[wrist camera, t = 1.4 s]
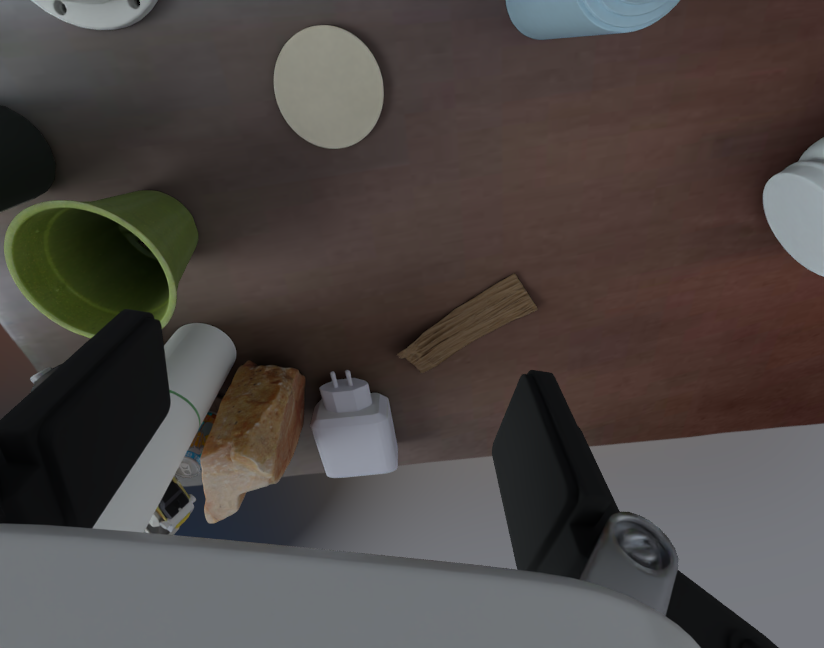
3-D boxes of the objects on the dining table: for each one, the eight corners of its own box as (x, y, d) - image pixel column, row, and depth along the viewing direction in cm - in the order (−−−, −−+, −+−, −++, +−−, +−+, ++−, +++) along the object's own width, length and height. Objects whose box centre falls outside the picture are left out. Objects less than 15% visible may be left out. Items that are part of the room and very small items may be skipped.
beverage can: (251, 391, 53) (229, 441, 46) (272, 459, 60) (256, 511, 53) (153, 396, 53) (117, 446, 46) (184, 463, 60) (157, 515, 53)
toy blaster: (147, 556, 55) (196, 563, 45) (-1, 402, 49) (20, 374, 39) (184, 518, 59) (237, 518, 49) (52, 373, 53) (83, 341, 44)
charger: (381, 354, 51) (397, 443, 59) (303, 362, 51) (330, 450, 59) (379, 380, 47) (397, 472, 55) (295, 388, 47) (325, 479, 55)
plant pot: (99, 265, 44) (16, 324, 35) (91, 146, 38) (-11, 178, 29) (220, 295, 46) (173, 358, 37) (230, 186, 40) (177, 228, 31)
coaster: (251, 73, 36) (249, 74, 35) (337, -3, 33) (336, -4, 33) (323, 168, 40) (322, 169, 39) (404, 106, 37) (405, 107, 37)
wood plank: (517, 278, 44) (540, 313, 46) (513, 270, 46) (535, 304, 48) (395, 353, 48) (421, 382, 50) (396, 343, 50) (421, 372, 52)
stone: (296, 444, 57) (260, 545, 44) (227, 421, 56) (168, 520, 42) (332, 356, 52) (304, 442, 38) (257, 329, 50) (200, 407, 36)
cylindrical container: (162, 324, 48) (-26, 539, 27) (227, 321, 48) (90, 534, 27) (183, 375, 52) (32, 599, 31) (243, 372, 52) (134, 594, 31)
